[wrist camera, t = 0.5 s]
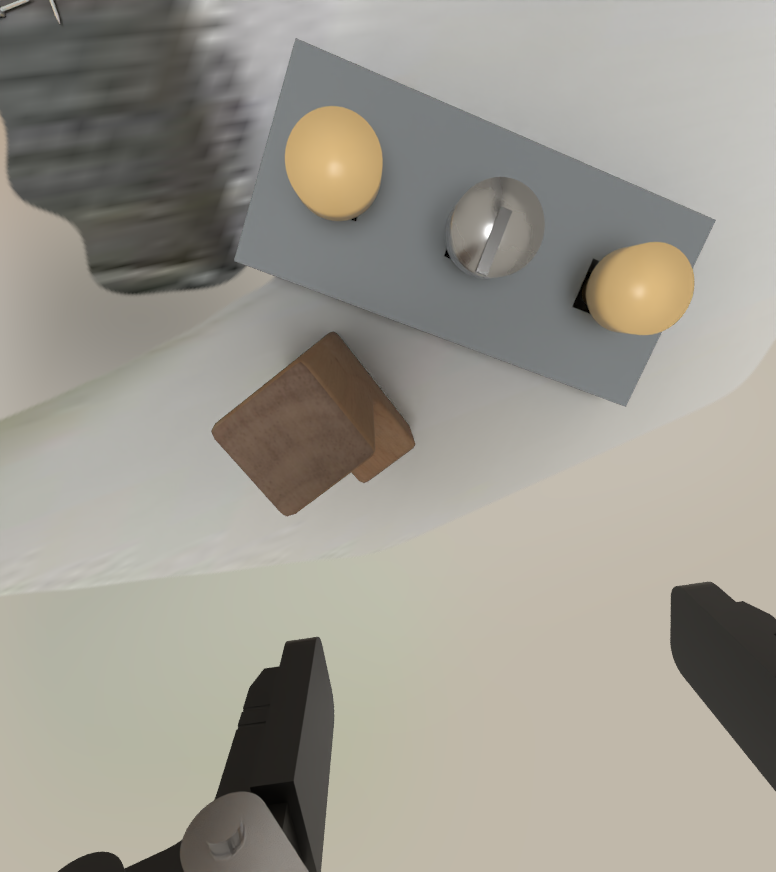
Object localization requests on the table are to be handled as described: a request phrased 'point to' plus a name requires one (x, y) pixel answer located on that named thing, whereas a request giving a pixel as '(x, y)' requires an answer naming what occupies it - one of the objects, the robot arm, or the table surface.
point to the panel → (426, 221)
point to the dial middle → (495, 228)
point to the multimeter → (21, 1)
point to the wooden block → (314, 427)
